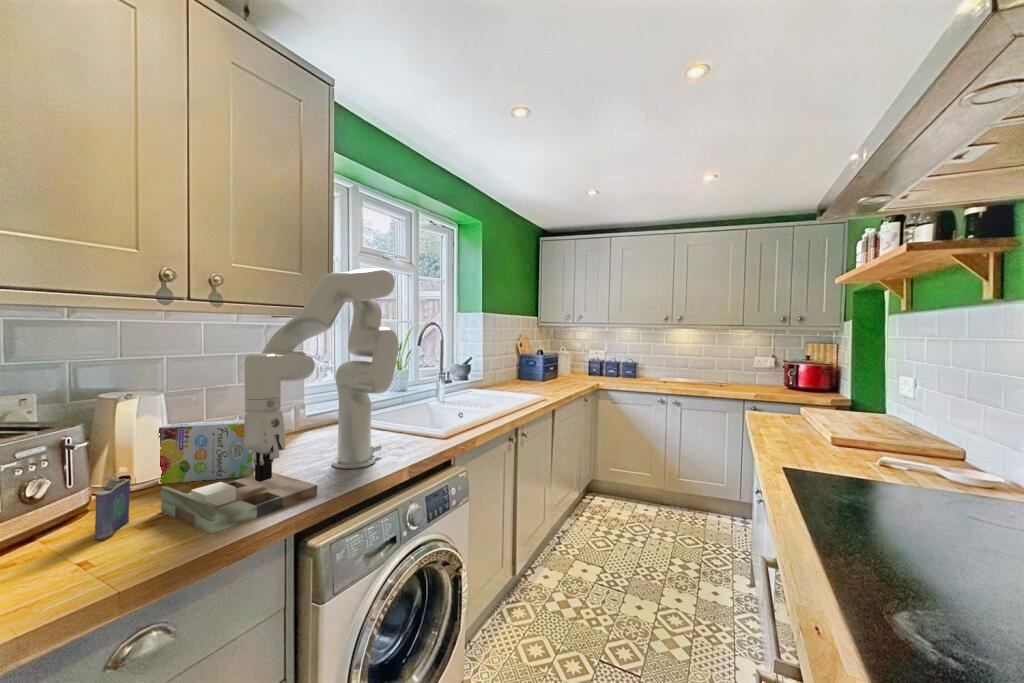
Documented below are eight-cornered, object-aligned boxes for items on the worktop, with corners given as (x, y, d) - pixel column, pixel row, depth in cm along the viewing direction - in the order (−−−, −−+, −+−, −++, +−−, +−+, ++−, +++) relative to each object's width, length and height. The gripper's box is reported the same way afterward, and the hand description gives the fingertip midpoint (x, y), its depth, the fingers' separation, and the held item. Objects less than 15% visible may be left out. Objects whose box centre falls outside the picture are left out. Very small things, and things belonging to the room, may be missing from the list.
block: (220, 494, 98) (220, 481, 98) (235, 500, 95) (235, 486, 95) (190, 503, 92) (191, 489, 92) (206, 509, 90) (206, 495, 90)
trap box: (267, 480, 115) (268, 460, 115) (317, 495, 105) (317, 473, 105) (161, 512, 94) (161, 487, 94) (211, 534, 84) (211, 506, 84)
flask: (108, 540, 81) (108, 484, 81) (88, 542, 80) (88, 485, 80) (132, 520, 90) (132, 469, 89) (114, 521, 89) (115, 470, 88)
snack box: (255, 471, 122) (256, 418, 122) (251, 477, 117) (252, 422, 117) (165, 478, 114) (165, 422, 114) (156, 485, 109) (157, 427, 109)
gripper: (297, 405, 103) (297, 480, 103) (259, 399, 110) (260, 469, 110) (266, 410, 96) (267, 490, 97) (228, 403, 103) (229, 478, 104)
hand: (263, 479), depth 104 cm, fingers closed
